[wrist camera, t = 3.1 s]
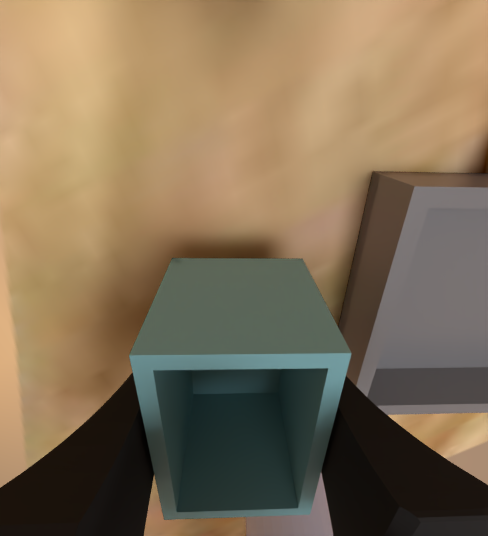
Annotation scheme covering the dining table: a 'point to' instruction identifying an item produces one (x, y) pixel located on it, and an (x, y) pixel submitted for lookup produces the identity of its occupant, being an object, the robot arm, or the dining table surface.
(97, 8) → the dining table surface
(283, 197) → the dining table surface
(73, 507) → the robot arm
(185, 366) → the teal crate
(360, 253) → the gray tray
